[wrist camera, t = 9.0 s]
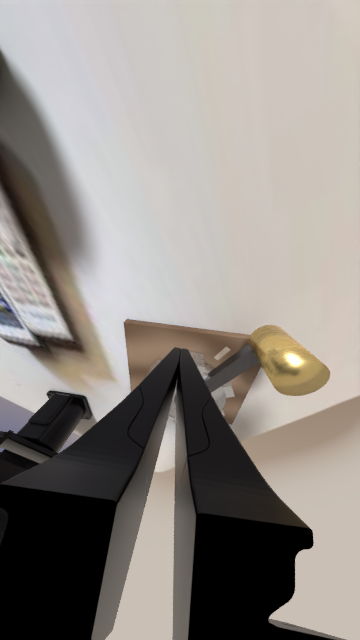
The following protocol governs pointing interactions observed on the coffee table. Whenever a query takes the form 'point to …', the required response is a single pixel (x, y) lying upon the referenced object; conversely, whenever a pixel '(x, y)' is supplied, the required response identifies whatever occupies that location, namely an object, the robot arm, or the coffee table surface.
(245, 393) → the nut base
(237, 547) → the robot arm
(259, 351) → the ring nut
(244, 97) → the coffee table surface
